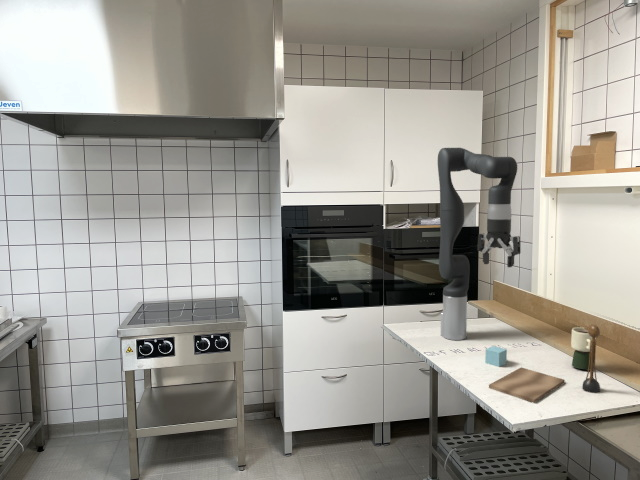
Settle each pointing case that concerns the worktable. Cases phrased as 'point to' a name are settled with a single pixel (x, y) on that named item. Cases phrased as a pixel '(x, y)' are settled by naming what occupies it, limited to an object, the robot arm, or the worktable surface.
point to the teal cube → (496, 356)
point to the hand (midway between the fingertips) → (498, 265)
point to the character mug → (581, 348)
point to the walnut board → (527, 384)
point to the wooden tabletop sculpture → (592, 361)
